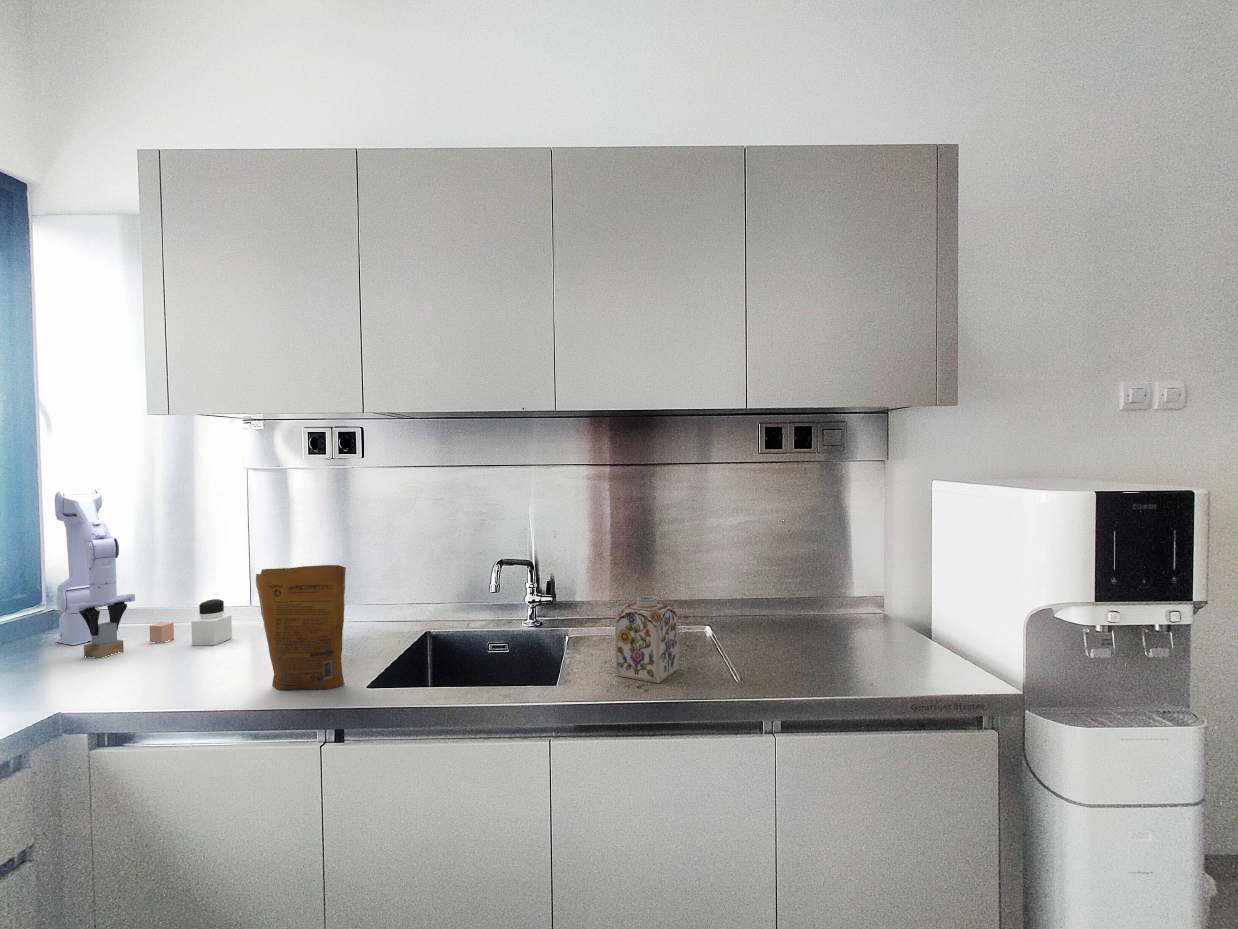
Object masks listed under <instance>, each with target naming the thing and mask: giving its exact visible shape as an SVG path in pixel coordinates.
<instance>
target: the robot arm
mask: <svg viewBox="0 0 1238 929" xmlns="http://www.w3.org/2000/svg"><path fill="white" fill-rule="evenodd" d="M102 505H103V497H102V493H101V492H100V490H98V489H93V490H90V489H89V490H68V491H67V490H65V491H62V490H59V491H57V492H56V493H55V495H54V512H55V513H54V514H55V517H56V520H57V521H59V522H63V524H64V527H65V535H66V536H65V537H66V548H67V551H66V552H67V563H68V565H67V566H68V578H66V579H65V580H64V581H63V582H61V583H60V584H59V585H58V587H57V591H56V593H57V595H56V607H57V609H58V611H60V612H61V613H62V614H61V615H60V616H59V618H58V629H59V630H58V633H59V634H58V637H59V639H56V640H55V643H59V644H64V645H69V646H75V645H81V644H85V643H89V642H88V641H90V642H92V636H97V635H98V624H99V618H100V617H99V616H100V613H101V611H100V610H99V608H102V607H107V610H108V614H109V615H108V616H109V617H108V618H109V622H112V623H117V631H118V629H119V625H120V623H121V620H122V617H123V614H124V613H125V611H126V610H127V608H128V604H127V603H129V602H132V603H133V602H135V601H136V594H135V593H128V594H127V593H126V594H119V595H117V594H118V593H117V589H118V588H117V560H116V559H118V557H119V555H120V545H119V541H118V538H117V537H116V536H114V535H111V533H110V530H109V529H108V527H107V524H106V523H105V522H104V521H101V520H100V519H99V515H98V513H99V511H100V510H101V508H102ZM84 586H86V587H84ZM76 587H77V588H76ZM71 588H72V589H71Z"/></svg>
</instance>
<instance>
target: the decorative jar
mask: <svg viewBox="0 0 1238 929" xmlns="http://www.w3.org/2000/svg"><path fill="white" fill-rule="evenodd" d="M657 600H658V599H657V597H656V596H652V595H645V596H644V595H643V596H638V597H637V598H636V602H630V603H627V604H624V605H623V606H622V607H621V609H620V611H619V613H618V615H617V616H616V618H615V620H614V621H615V625H614V626H615V627H614V628H615V629H614V630H615V631H614V633H615V634H614V648H615V649H614V653H615V654H614V656H615V658H614V659H615V661H614V663H615V676H617V677H621V678H628V679H632V680H638V681H644V682H649V683H653V684H654V683H655V684H660V683H661V682H663V681H665V679H667V678H669V677H670V676H671V675H672V674H674V673H675V672H677V671H678V670H679V667H680V644H679V643H680V642H679V639H680V638H679V615H678V613H677V611H675V609H674V608H673V606H670V605H669V604H667V603H665V602H659V601H657Z"/></svg>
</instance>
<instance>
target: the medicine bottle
mask: <svg viewBox="0 0 1238 929" xmlns="http://www.w3.org/2000/svg"><path fill="white" fill-rule="evenodd" d="M224 605H225V604H224V600H222V599H218V598H217V599H216V598H215V599H214V598H212V599H207V600H203V601H201V602H199V603H198V616H199V617H198V618H197V617H196V618H195V619H191V624H190V625H191V645H192V646H217V645H219V643H220V644H223V642H224V641H225V642H227V641H230V640H232V638H233V637H232V636H233V634H232V633H233V632H232V631H233V630H232V629H233V628H232V626H233V625H232V615H231V614H224V613H225V609H224V608H225V606H224ZM226 640H227V641H226ZM225 642H224V643H225Z"/></svg>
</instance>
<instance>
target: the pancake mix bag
mask: <svg viewBox="0 0 1238 929" xmlns="http://www.w3.org/2000/svg"><path fill="white" fill-rule="evenodd" d="M346 570H347V567H346V566H344V565H343V566H342V565H339V564H322V565H304V566H297V567H296V566H294V567H289V568H288V567H280V568H264V569H261V572H260V573H256V574H255V586H256V589H257V593H258V594H257V595H258V599H259V606H260V607H259V608H260V613H261V617H262V621H263V627H264V632H265V636H266V641H267V648H268V653H269V657H270V662H271V666H272V670H273V679H272V685H271V686H272V687H273V688H274V687H275V688H276V690H277V689H278V690H277V691H282V690H283V691H304V690H307V691H309V690H331V689H336V688H338V687H341V686H344V685H345V679H344V674H343V664H342V655H343V654H342V653H343V635H344V634H343V632H344V624H345V594H346V574H347V573H346ZM275 688H274V689H275Z"/></svg>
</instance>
